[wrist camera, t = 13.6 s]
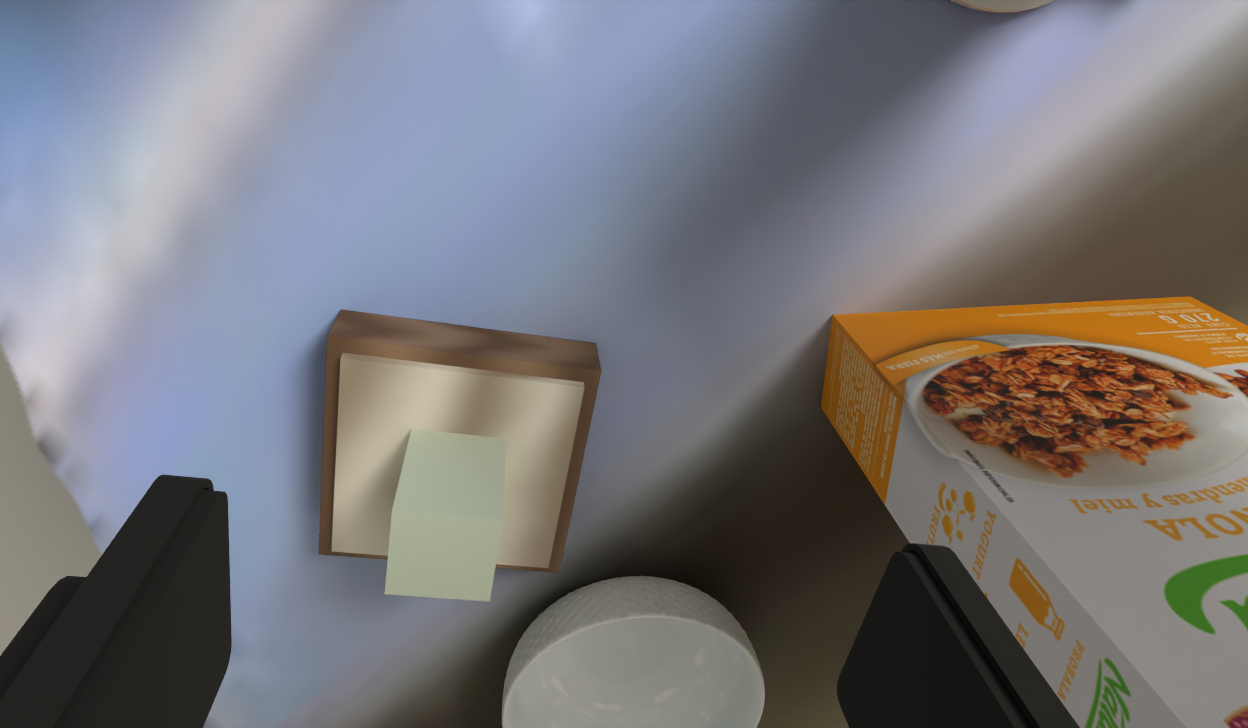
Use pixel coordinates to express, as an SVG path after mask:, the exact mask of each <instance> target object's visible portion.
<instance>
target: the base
mask: <svg viewBox="0 0 1248 728" xmlns="http://www.w3.org/2000/svg"><path fill="white" fill-rule="evenodd" d="M600 374H601V367H600V362H599V356H598V351H597V346H596V343H589V342H582V341H574V340H567V339H559V338H551V337H544V336H536V335H529V334H521V333H514V332H506V331H499V330H491V329H483V328H476V327H468V326H461V325H453V324H446V323H438V322H431V321H423V320H416V319H408V318H400V317H393V316H385V315H378V314H370V313H363V312H355V311H348V310H341V311H340V312H339V314H338V316H337V318H336V320H335V322H334V324H333V326H332V328H331V330H330V332H329V334H328V336H327V350H326V377H325V403H324V429H323V455H322V481H321V507H320V534H319V554H323V555H336V556H349V557H362V558H375V559H388V550H389V538H390V527H391V516H392V508H393V504H394V500H395V496H396V491H397V487H398V483H399V479H400V475H401V471H402V466H403V462H404V458H405V454H406V450H407V446H408V441H409V437H410V433H411V429H421V430H430V431H440V432H449V433H458V434H467V435H476V436H486V437H495V438H504V439H506V461H505V487H504V513H503V525H502V531H501V537H500V543H499V549H498V555H497V561H496V567H495V568H505V569H518V570H531V571H544V572H557V573H559V571H560V566H561V561H562V557H563V552H564V547H565V542H566V537H567V533H568V528H569V523H570V518H571V513H572V509H573V504H574V499H575V494H576V489H577V485H578V480H579V475H580V470H581V465H582V461H583V456H584V451H585V446H586V441H587V437H588V432H589V427H590V422H591V417H592V413H593V408H594V403H595V398H596V393H597V389H598V384H599V379H600Z"/></svg>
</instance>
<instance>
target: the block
mask: <svg viewBox="0 0 1248 728" xmlns="http://www.w3.org/2000/svg"><path fill="white" fill-rule="evenodd" d="M505 461H506V439H504V438H495V437H486V436H476V435H467V434H458V433H449V432H440V431H430V430H421V429H411V433H410V437H409V441H408V446H407V450H406V454H405V458H404V462H403V466H402V471H401V475H400V479H399V483H398V487H397V491H396V496H395V500H394V504H393V508H392V516H391V527H390V538H389V550H388V561H387V572H386V583H385V594H388V595H402V596H417V597H431V598H445V599H459V600H474V601H488V602H490V597H491V591H492V585H493V579H494V573H495V567H496V561H497V555H498V549H499V543H500V537H501V531H502V525H503V513H504V487H505Z"/></svg>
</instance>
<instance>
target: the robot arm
mask: <svg viewBox="0 0 1248 728" xmlns="http://www.w3.org/2000/svg"><path fill="white" fill-rule="evenodd" d="M950 1H951V2H954V3H956V4H959V5H962V6H965V7H967V8H970V9H974V10H981V11H988V12H1019V11H1024V10H1028V9H1033V8H1038V7H1041V6H1043V5H1046V4H1048V3H1050V2H1053V1H1055V0H950ZM230 653H231V605H230V567H229V528H228V499H227V494H226V493H225V492H221V491H214V490H213V484H212V482H211V480H209V479H205V478H194V477H183V476H172V475H161V476H159V477H158V478H157V479H156V480H155V481H154V482H153V484H152V485H151V487H150V488H149V489H148V491H147V492H146V494H145V495H144V497H143V498H142V499H141V501H140V502H139V504H138V505H137V506H136V508H135V509H134V511H133V512H132V514H131V515H130V516H129V518H128V519H127V521H126V522H125V523H124V525H123V526H122V528H121V529H120V531H119V532H118V533H117V535H116V536H115V538H114V539H113V540H112V542H111V543H110V545H109V546H108V548H107V549H106V550H105V552H104V553H103V555H102V556H101V557H100V559H99V560H98V562H97V563H96V565H95V566H94V567H93V569H92V570H91V572H90V573H89V575H88V576H87V577H75V576H66V577H65V578H63V579H61V580H59V581H58V582H57V583H56V584H55V585H54V586H53V587H52V588H51V589H50V590H49V592H48V593H47V594H46V596H45V597H44V599H43V600H42V601H41V602H40V604H39V605H38V606H37V608H36V609H35V611H34V612H33V613H32V614H31V616H30V617H29V619H28V620H27V621H26V622H25V624H24V625H23V626H22V628H21V629H20V631H19V632H18V633H17V634H16V636H15V637H14V639H13V640H12V641H11V643H10V644H9V645H8V647H7V648H6V649H5V651H4V652H3V653H2V655H1V656H0V728H203V726H204V723H205V721H206V719H207V716H208V714H209V711H210V709H211V707H212V704H213V702H214V699H215V697H216V695H217V692H218V690H219V688H220V685H221V683H222V680H223V678H224V676H225V673H226V670H227V667H228V663H229V659H230ZM837 695H838V700H839V703H840V706H841V709H842V711H843V714H844V716H845V718H846V721H847V723H848V725H849V728H1080V727H1079V726H1078V724H1077V723H1076V722H1075V720H1074V719H1073V717H1072V716H1071V715H1070V713H1069V712H1068V710H1067V709H1066V708H1065V706H1064V705H1063V703H1062V702H1061V701H1060V699H1059V698H1058V696H1057V695H1056V694H1055V692H1054V691H1053V689H1052V688H1051V687H1050V685H1049V684H1048V682H1047V681H1046V680H1045V678H1044V677H1043V675H1042V674H1041V673H1040V671H1039V670H1038V668H1037V667H1036V666H1035V664H1034V663H1033V661H1032V660H1031V659H1030V657H1029V656H1028V655H1027V653H1026V652H1025V650H1024V649H1023V648H1022V646H1021V645H1020V643H1019V642H1018V641H1017V639H1016V638H1015V636H1014V635H1013V634H1012V632H1011V631H1010V629H1009V628H1008V627H1007V625H1006V624H1005V622H1004V621H1003V620H1002V618H1001V617H1000V615H999V614H998V613H997V611H996V610H995V608H994V607H993V606H992V604H991V603H990V601H989V600H988V599H987V597H986V596H985V595H984V593H983V592H982V590H981V589H980V588H979V586H978V585H977V583H976V582H975V581H974V579H973V578H972V576H971V575H970V574H969V572H968V571H967V569H966V568H965V567H964V565H963V564H962V562H961V561H960V560H959V558H958V557H957V555H956V554H955V553H954V552H953V551H952V550H951V549H950V548H948V547H946V546H939V545H928V544H917V543H911V544H907V545H906V546H905V547H904V548H903V549H902V551H901V552H896V553H895V554H894V555H893V556H892V558H891V559H890V561H889V564H888V566H887V568H886V571H885V573H884V575H883V578H882V580H881V582H880V584H879V587H878V589H877V591H876V594H875V596H874V598H873V600H872V603H871V605H870V607H869V610H868V612H867V614H866V616H865V619H864V621H863V623H862V626H861V628H860V630H859V632H858V635H857V637H856V639H855V642H854V644H853V646H852V648H851V651H850V653H849V655H848V658H847V660H846V662H845V664H844V667H843V669H842V671H841V674H840V676H839V679H838V684H837Z"/></svg>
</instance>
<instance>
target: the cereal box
mask: <svg viewBox="0 0 1248 728" xmlns="http://www.w3.org/2000/svg"><path fill="white" fill-rule="evenodd" d="M821 408H822V410H823V411H824V413H825V414H826V416H827V417H828V419H829V420H830V422H831V423H832V425H833V426H834V428H835V430H836V431H837V433H838V434H839V436H840V437H841V439H842V440H843V442H844V443H845V445H846V446H847V448H848V449H849V451H850V452H851V454H852V455H853V457H854V459H855V460H856V462H857V463H858V465H859V466H860V468H861V469H862V471H863V472H864V474H865V475H866V477H867V478H868V480H869V481H870V483H871V485H872V486H873V488H874V489H875V491H876V492H877V494H878V495H879V497H880V498H881V500H882V501H883V503H884V504H885V506H886V507H887V509H888V511H889V512H890V514H891V515H892V517H893V518H894V520H895V521H896V523H897V524H898V526H899V527H900V529H901V530H902V532H903V533H904V535H905V536H906V538H907V540H908V541H909V543H910V544H911V543H917V544H928V545H939V546H946V547H948V548H950V549H951V550H952V551H953V552H954V553H955V554H956V555H957V557H958V558H959V560H960V561H961V562H962V564H963V565H964V567H965V568H966V569H967V571H968V572H969V574H970V575H971V576H972V578H973V579H974V581H975V582H976V583H977V585H978V586H979V588H980V589H981V590H982V592H983V593H984V595H985V596H986V597H987V599H988V600H989V601H990V603H991V604H992V606H993V607H994V608H995V610H996V611H997V613H998V614H999V615H1000V617H1001V618H1002V620H1003V621H1004V622H1005V624H1006V625H1007V627H1008V628H1009V629H1010V631H1011V632H1012V634H1013V635H1014V636H1015V638H1016V639H1017V641H1018V642H1019V643H1020V645H1021V646H1022V648H1023V649H1024V650H1025V652H1026V653H1027V655H1028V656H1029V657H1030V659H1031V660H1032V661H1033V663H1034V664H1035V666H1036V667H1037V668H1038V670H1039V671H1040V673H1041V674H1042V675H1043V677H1044V678H1045V680H1046V681H1047V682H1048V684H1049V685H1050V687H1051V688H1052V689H1053V691H1054V692H1055V694H1056V695H1057V696H1058V698H1059V699H1060V701H1061V702H1062V703H1063V705H1064V706H1065V708H1066V709H1067V710H1068V712H1069V713H1070V715H1071V716H1072V717H1073V719H1074V720H1075V722H1076V723H1077V724H1078V726H1079V727H1080V728H1248V326H1246V325H1245V324H1243V323H1241V322H1239V321H1237V320H1235V319H1233V318H1231V317H1229V316H1227V315H1225V314H1223V313H1221V312H1219V311H1217V310H1215V309H1213V308H1211V307H1209V306H1208V305H1206V304H1204V303H1202V302H1200V301H1198V300H1196V299H1194V298H1192V297H1173V298H1153V299H1133V300H1113V301H1093V302H1074V303H1054V304H1034V305H1014V306H994V307H974V308H955V309H935V310H915V311H895V312H875V313H856V314H836V315H833V316H832V324H831V332H830V340H829V348H828V356H827V364H826V371H825V379H824V387H823V395H822V403H821Z"/></svg>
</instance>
